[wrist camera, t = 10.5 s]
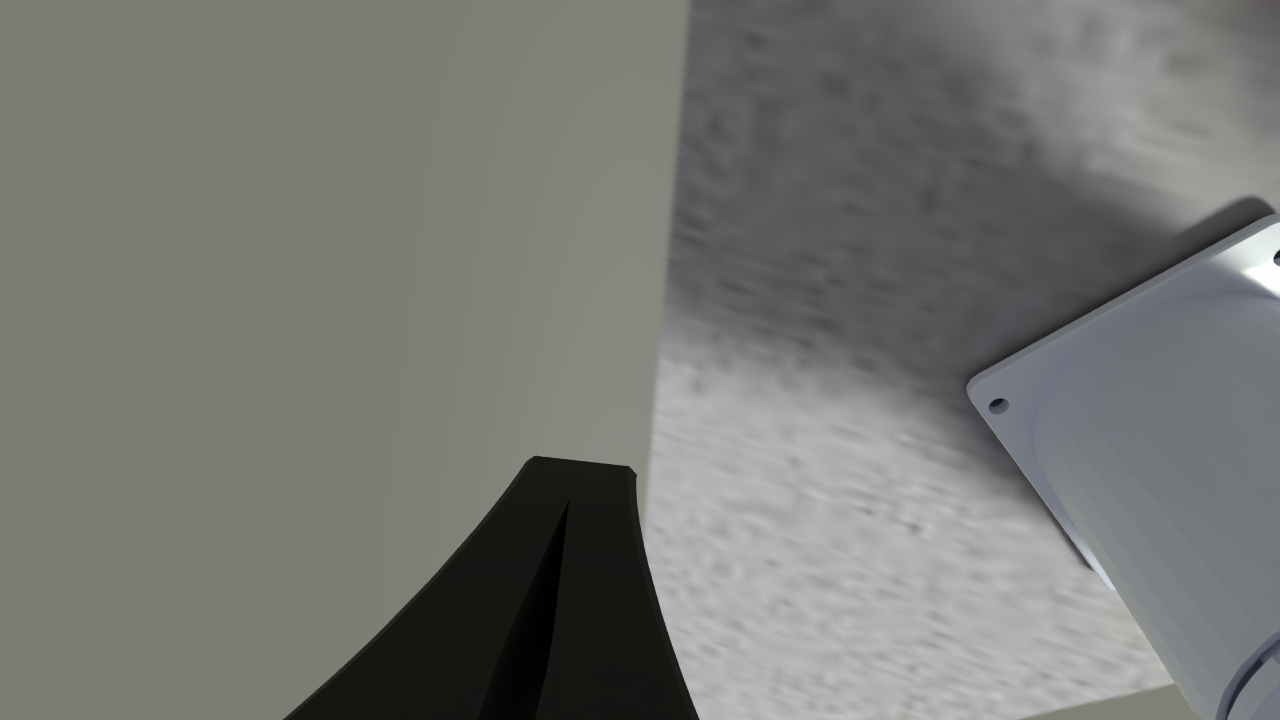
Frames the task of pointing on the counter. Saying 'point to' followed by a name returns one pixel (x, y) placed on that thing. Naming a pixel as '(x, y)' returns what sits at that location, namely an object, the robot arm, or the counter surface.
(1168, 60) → the counter surface
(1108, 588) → the robot arm
